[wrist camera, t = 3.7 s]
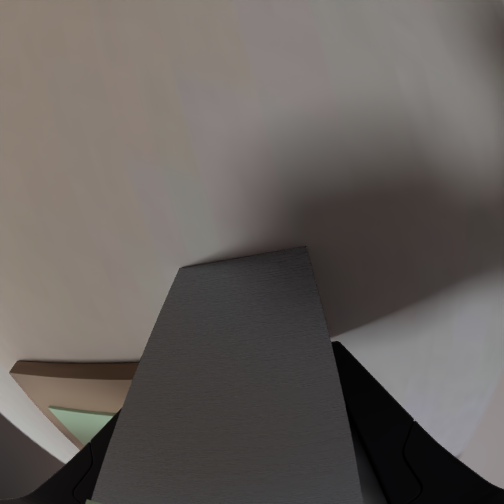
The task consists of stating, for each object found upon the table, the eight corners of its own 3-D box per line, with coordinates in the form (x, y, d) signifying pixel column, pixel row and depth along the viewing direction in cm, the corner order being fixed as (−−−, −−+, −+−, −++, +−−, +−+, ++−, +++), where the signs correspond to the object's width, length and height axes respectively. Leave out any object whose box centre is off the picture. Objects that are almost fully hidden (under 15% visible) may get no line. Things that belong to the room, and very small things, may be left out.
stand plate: (272, 482, 18) (272, 496, 17) (126, 476, 19) (123, 487, 18) (213, 357, 12) (209, 380, 10) (17, 361, 13) (7, 375, 12)
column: (319, 343, 11) (354, 592, 3) (212, 357, 12) (178, 592, 4) (307, 244, 9) (379, 602, 1) (177, 267, 10) (67, 571, 2)
